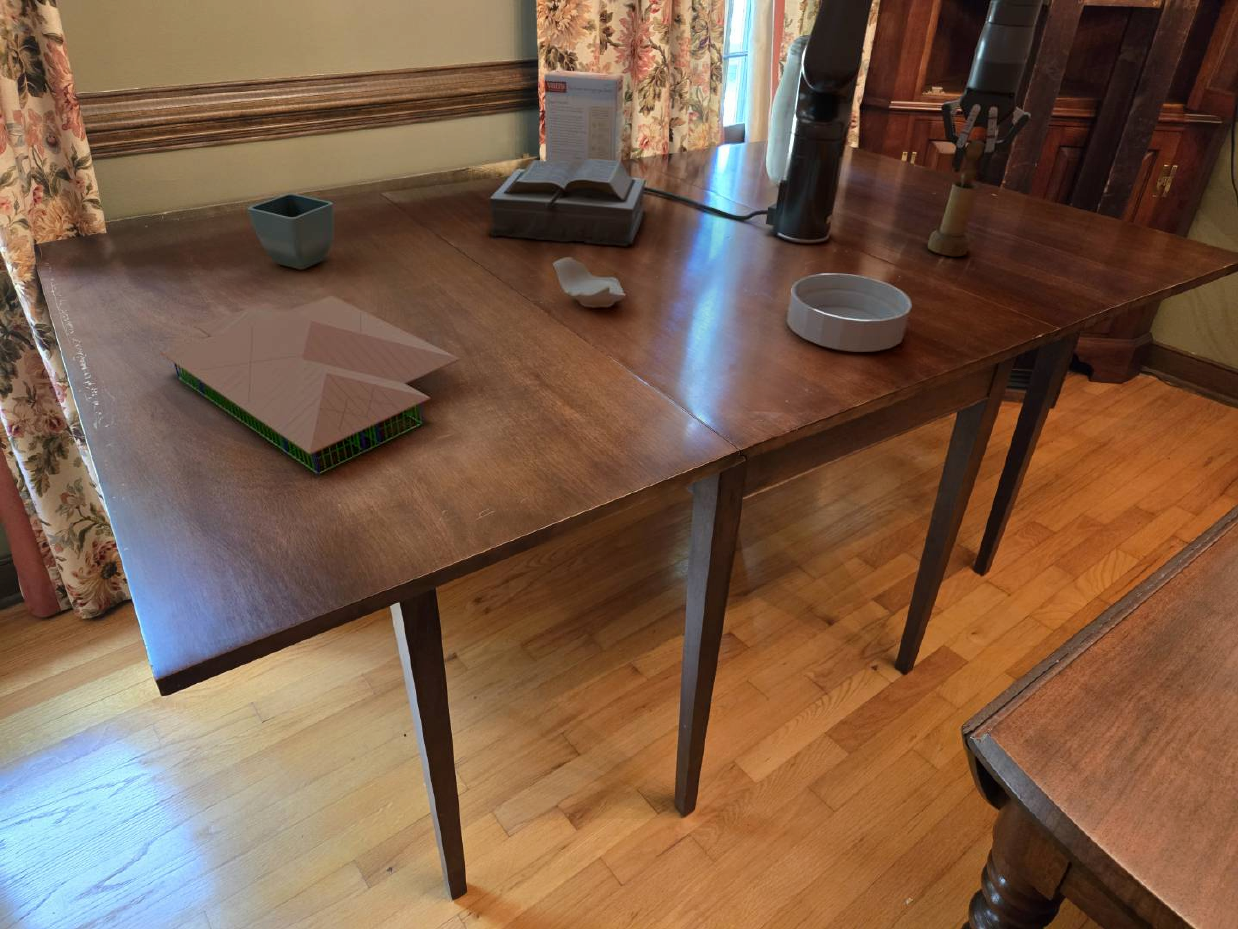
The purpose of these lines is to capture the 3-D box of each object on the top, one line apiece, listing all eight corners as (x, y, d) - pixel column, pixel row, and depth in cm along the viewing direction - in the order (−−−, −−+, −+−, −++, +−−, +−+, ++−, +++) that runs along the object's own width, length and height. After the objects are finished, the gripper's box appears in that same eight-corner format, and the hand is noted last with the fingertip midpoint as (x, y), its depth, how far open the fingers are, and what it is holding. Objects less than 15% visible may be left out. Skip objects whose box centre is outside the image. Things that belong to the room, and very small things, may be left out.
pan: (770, 336, 112) (775, 302, 109) (806, 296, 124) (811, 265, 121) (888, 366, 106) (896, 331, 104) (913, 321, 118) (922, 288, 115)
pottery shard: (619, 322, 114) (620, 288, 111) (541, 313, 116) (540, 280, 113) (632, 292, 123) (633, 260, 120) (559, 285, 124) (559, 253, 121)
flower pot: (343, 259, 129) (334, 201, 124) (303, 278, 122) (292, 218, 117) (300, 248, 132) (289, 192, 127) (258, 266, 125) (245, 207, 120)
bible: (621, 257, 134) (624, 196, 129) (472, 233, 141) (468, 174, 135) (661, 215, 153) (665, 160, 147) (527, 195, 159) (526, 142, 153)
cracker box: (620, 187, 166) (625, 73, 154) (613, 195, 161) (617, 79, 149) (553, 179, 168) (553, 67, 156) (545, 188, 163) (543, 72, 151)
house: (324, 311, 113) (313, 254, 108) (487, 396, 96) (484, 333, 92) (156, 369, 98) (136, 306, 94) (315, 481, 82) (300, 410, 77)
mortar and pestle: (968, 258, 139) (1002, 148, 129) (929, 254, 140) (959, 144, 130) (963, 245, 145) (994, 138, 134) (925, 241, 146) (953, 134, 135)
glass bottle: (801, 195, 166) (827, 40, 150) (755, 186, 170) (774, 34, 154) (819, 184, 173) (845, 35, 157) (774, 175, 177) (794, 29, 161)
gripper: (1052, 59, 125) (1016, 174, 135) (957, 48, 130) (929, 160, 140) (1048, 65, 120) (1010, 185, 130) (949, 54, 125) (920, 170, 135)
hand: (968, 172), depth 135 cm, fingers closed on mortar and pestle, 3 cm apart
